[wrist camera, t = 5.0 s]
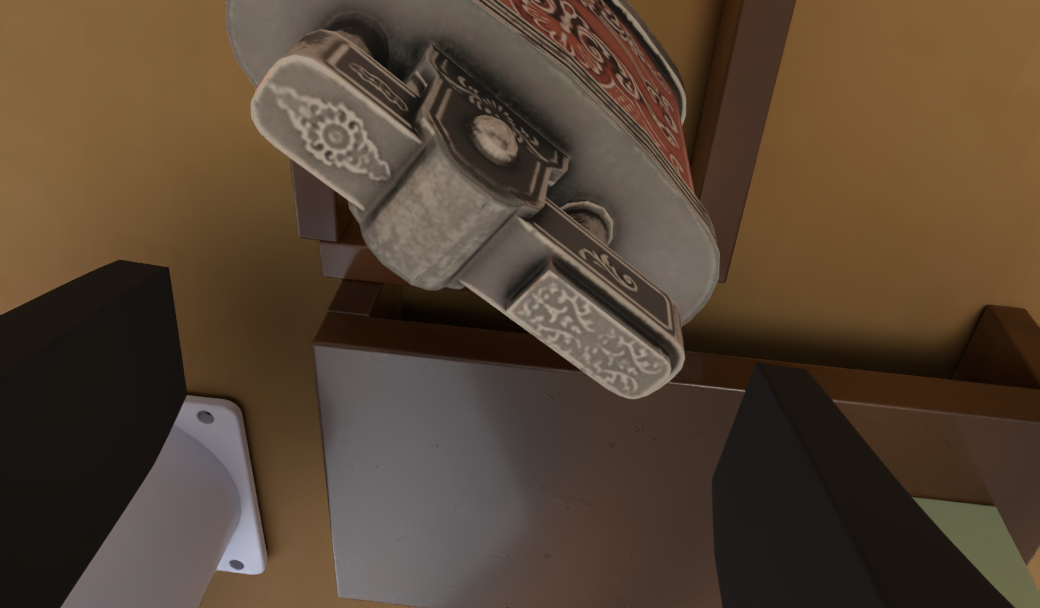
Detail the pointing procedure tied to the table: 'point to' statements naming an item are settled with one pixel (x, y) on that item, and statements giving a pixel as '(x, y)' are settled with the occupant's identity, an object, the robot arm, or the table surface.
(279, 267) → the table surface
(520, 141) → the lighter
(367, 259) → the wooden display riser
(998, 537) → the sage block
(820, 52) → the table surface
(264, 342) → the table surface
